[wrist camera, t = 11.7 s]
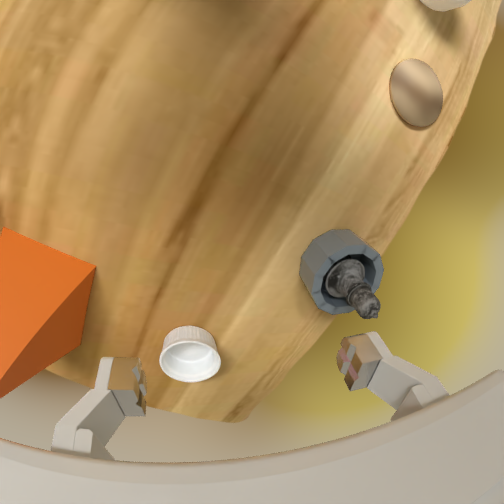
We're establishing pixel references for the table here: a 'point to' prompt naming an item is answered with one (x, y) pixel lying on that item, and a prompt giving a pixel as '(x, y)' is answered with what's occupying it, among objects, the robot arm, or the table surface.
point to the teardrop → (444, 4)
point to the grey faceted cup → (330, 251)
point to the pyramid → (38, 306)
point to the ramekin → (189, 354)
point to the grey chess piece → (352, 286)
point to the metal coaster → (416, 92)
